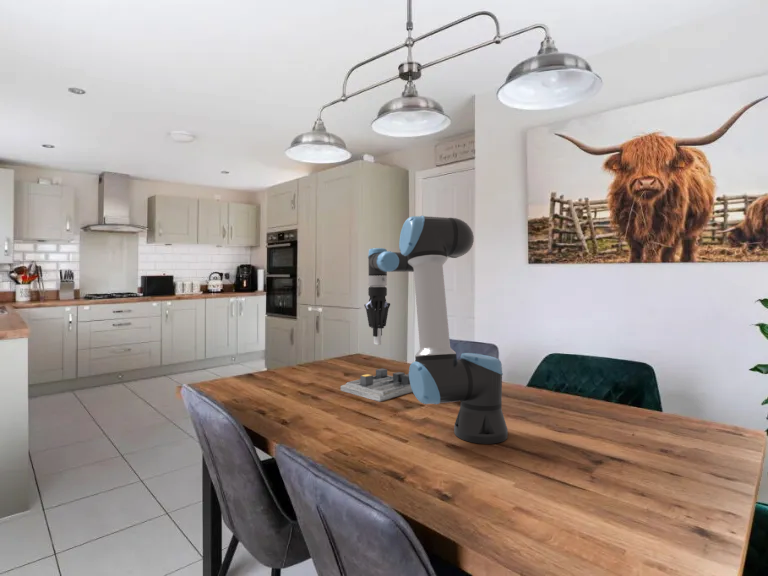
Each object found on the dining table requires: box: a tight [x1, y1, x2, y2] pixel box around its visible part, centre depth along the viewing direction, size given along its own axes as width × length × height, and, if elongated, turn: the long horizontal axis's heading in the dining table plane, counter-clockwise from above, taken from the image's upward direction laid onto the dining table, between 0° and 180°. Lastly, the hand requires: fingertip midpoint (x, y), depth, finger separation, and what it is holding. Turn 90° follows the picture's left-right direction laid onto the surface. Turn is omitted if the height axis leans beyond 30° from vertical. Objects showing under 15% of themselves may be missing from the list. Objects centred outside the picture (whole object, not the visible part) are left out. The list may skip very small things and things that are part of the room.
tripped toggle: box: [360, 373, 374, 386], centre depth 172 cm, size 4×3×4 cm
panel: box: [340, 367, 413, 402], centre depth 175 cm, size 26×22×6 cm
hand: (377, 344), depth 176 cm, fingers closed
